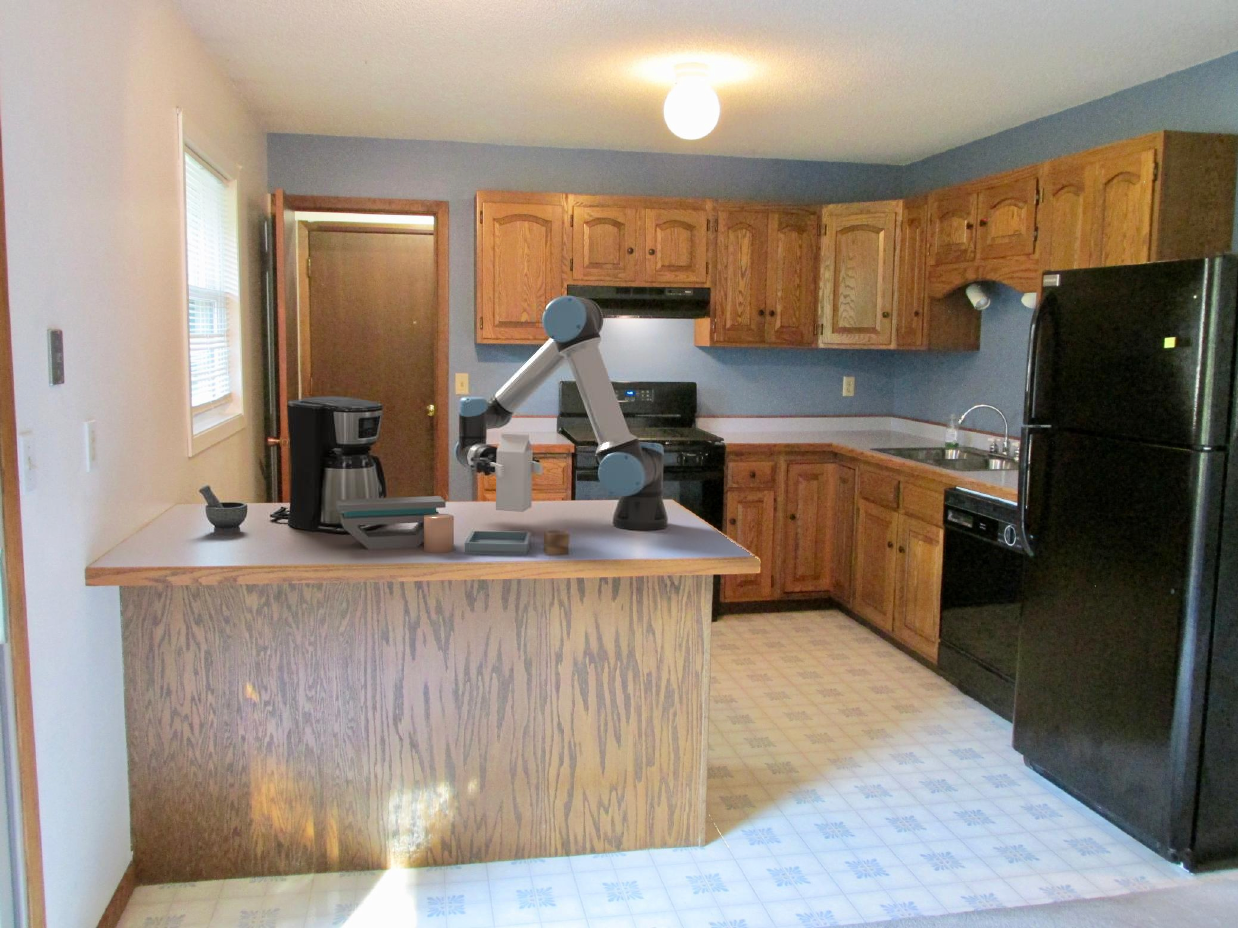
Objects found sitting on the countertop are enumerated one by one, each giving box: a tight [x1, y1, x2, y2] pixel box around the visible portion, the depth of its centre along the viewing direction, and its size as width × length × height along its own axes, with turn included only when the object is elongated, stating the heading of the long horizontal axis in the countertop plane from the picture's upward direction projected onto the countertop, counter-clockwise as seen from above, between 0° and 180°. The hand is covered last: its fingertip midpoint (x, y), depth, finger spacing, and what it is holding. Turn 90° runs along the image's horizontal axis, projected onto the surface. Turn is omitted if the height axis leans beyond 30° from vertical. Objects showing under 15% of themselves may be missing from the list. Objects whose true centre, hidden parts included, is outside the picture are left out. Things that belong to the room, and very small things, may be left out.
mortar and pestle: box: [198, 484, 248, 535], centre depth 248 cm, size 11×9×12 cm
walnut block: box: [543, 529, 570, 556], centre depth 235 cm, size 5×5×5 cm
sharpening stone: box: [336, 495, 447, 550], centre depth 239 cm, size 25×8×11 cm, turn 111°
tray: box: [464, 530, 532, 556], centre depth 239 cm, size 15×15×3 cm
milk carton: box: [495, 433, 533, 513], centre depth 248 cm, size 7×7×19 cm
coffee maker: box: [269, 395, 387, 535], centre depth 259 cm, size 23×32×34 cm
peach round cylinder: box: [423, 513, 455, 554], centre depth 235 cm, size 7×7×8 cm
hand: (521, 470), depth 244 cm, fingers closed on milk carton, 10 cm apart
